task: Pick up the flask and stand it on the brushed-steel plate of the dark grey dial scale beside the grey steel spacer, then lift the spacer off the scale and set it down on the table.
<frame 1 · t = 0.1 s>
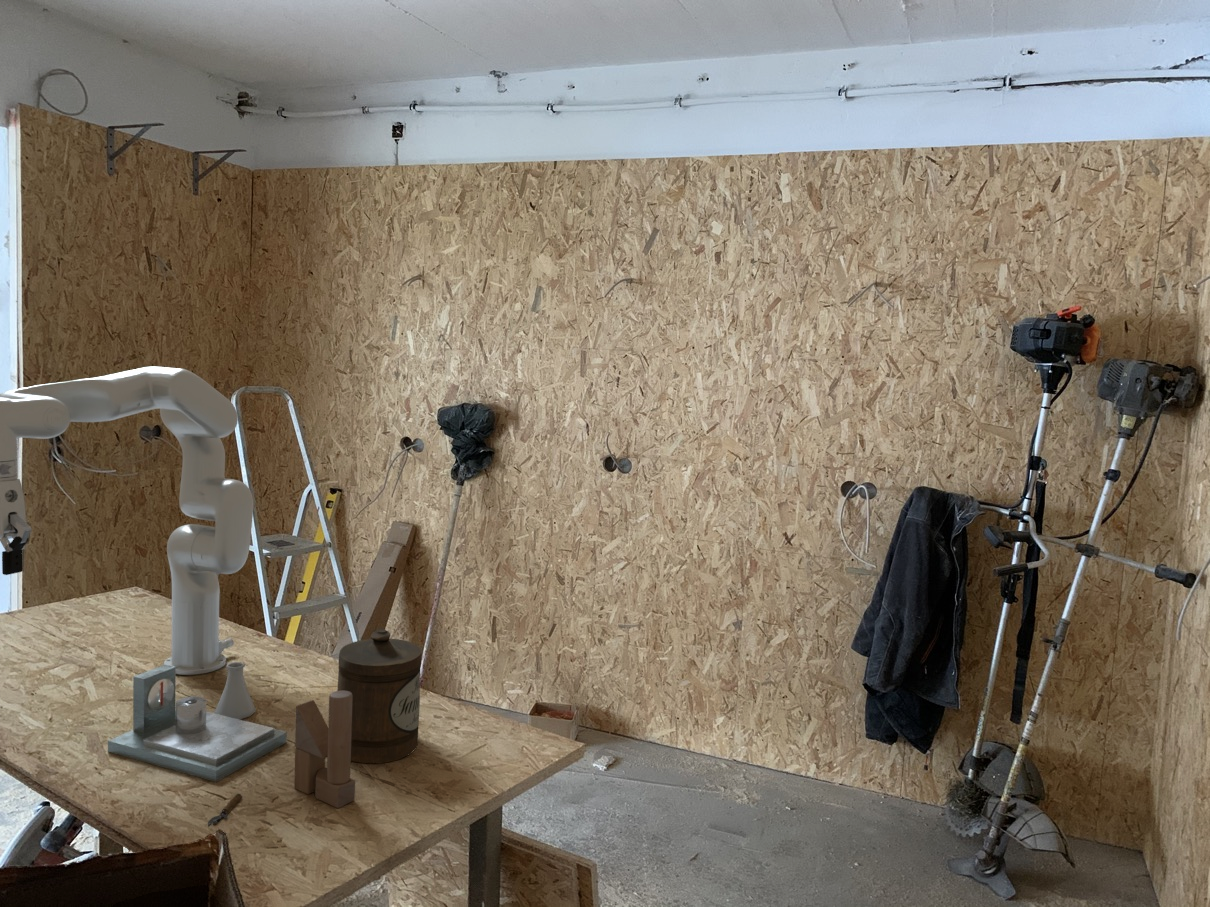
flask: (234, 715, 174), on the table
can opener: (224, 814, 139), on the table
scale: (199, 747, 159), on the table
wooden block: (323, 796, 145), on the table
wooden container: (376, 747, 164), on the table
steel spacer: (190, 728, 160), point 3 cm above the table, touching scale
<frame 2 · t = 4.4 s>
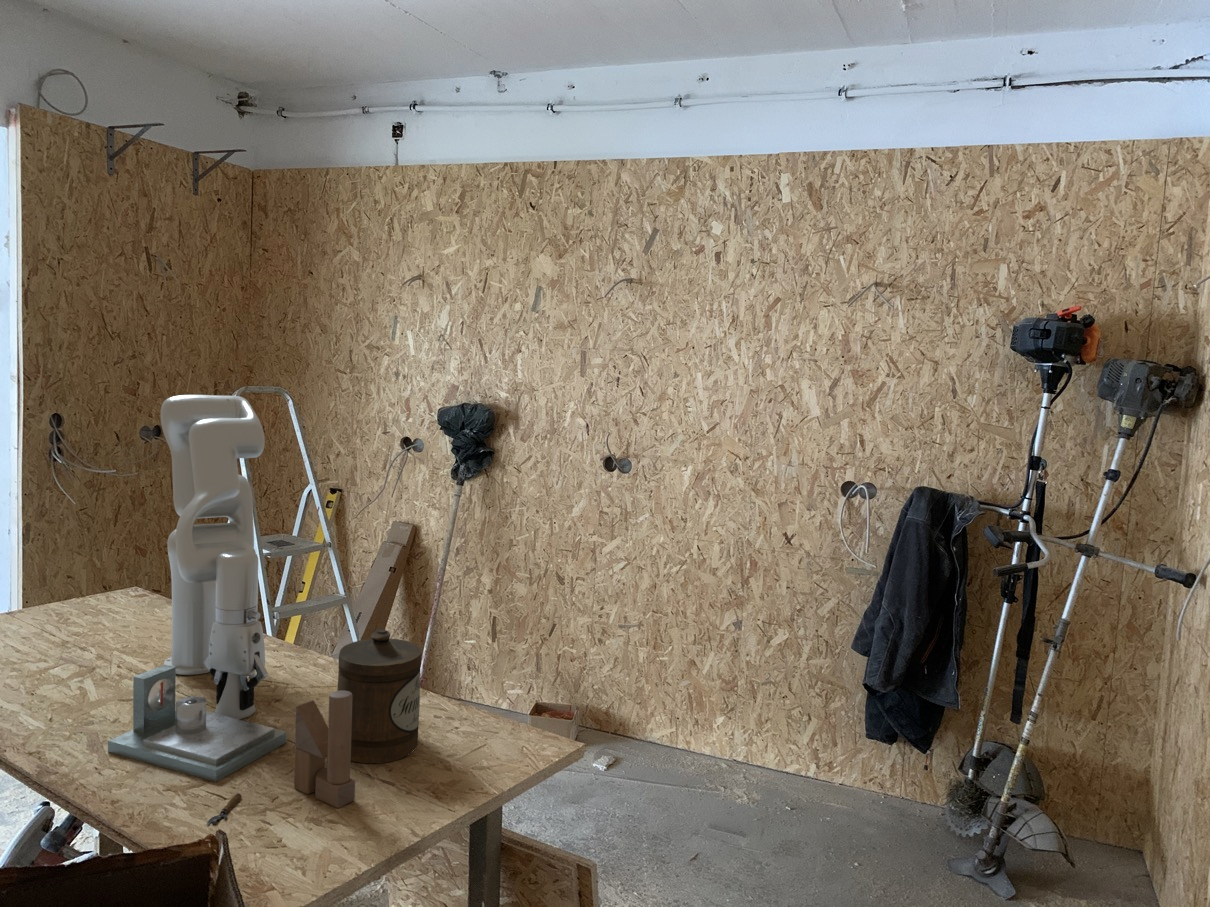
hand: (235, 704, 174), 2 cm above the table, tool pointing down, fingers closed on flask, 4 cm apart
flask: (235, 714, 174), on the table, touching gripper
everything else where it was.
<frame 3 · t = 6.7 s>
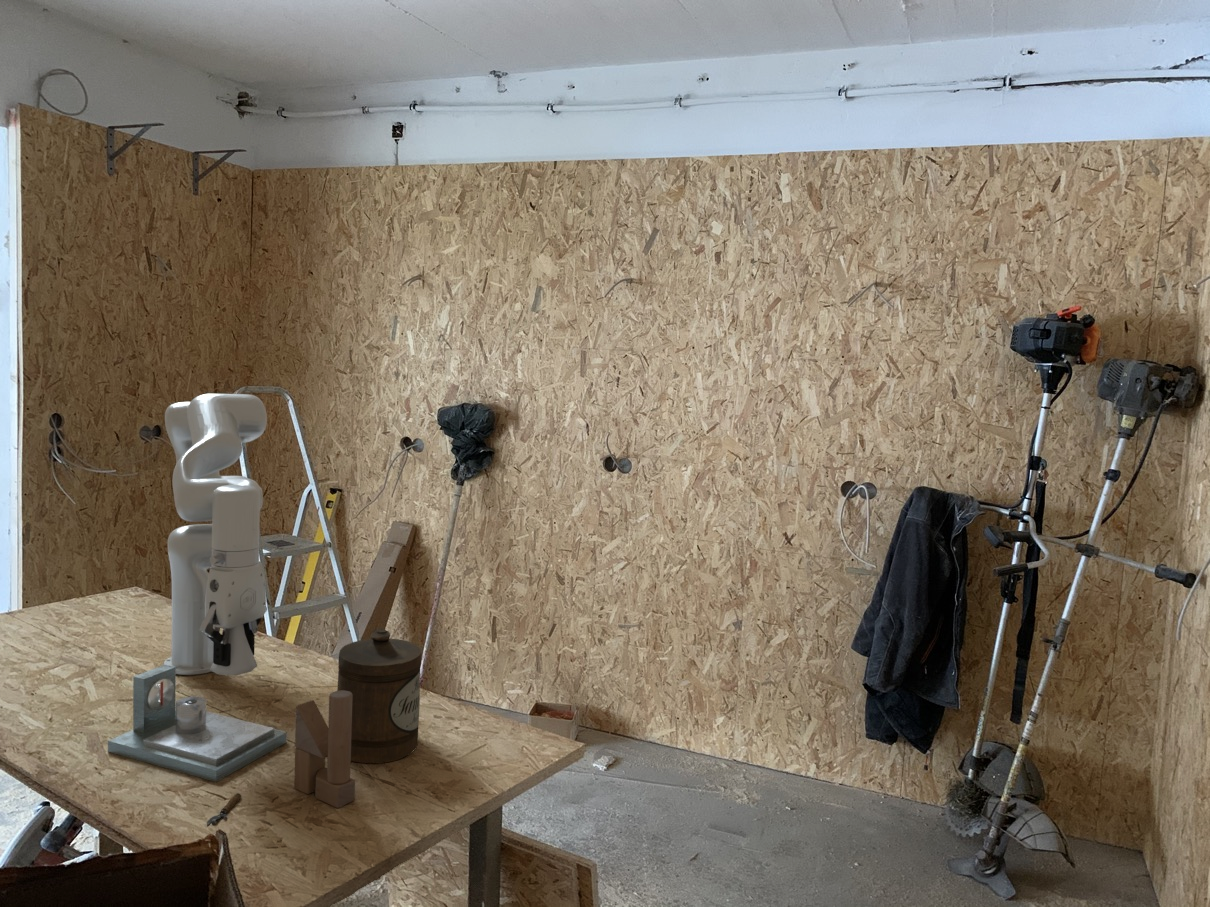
hand: (234, 658, 155), 18 cm above the table, tool pointing down, fingers closed on flask, 4 cm apart
flask: (233, 670, 155), point 15 cm above the table, touching gripper
everything else where it was.
when the fingers open (7 cm above the table, at t = 9.0 s): flask drops 2 cm, resting on scale.
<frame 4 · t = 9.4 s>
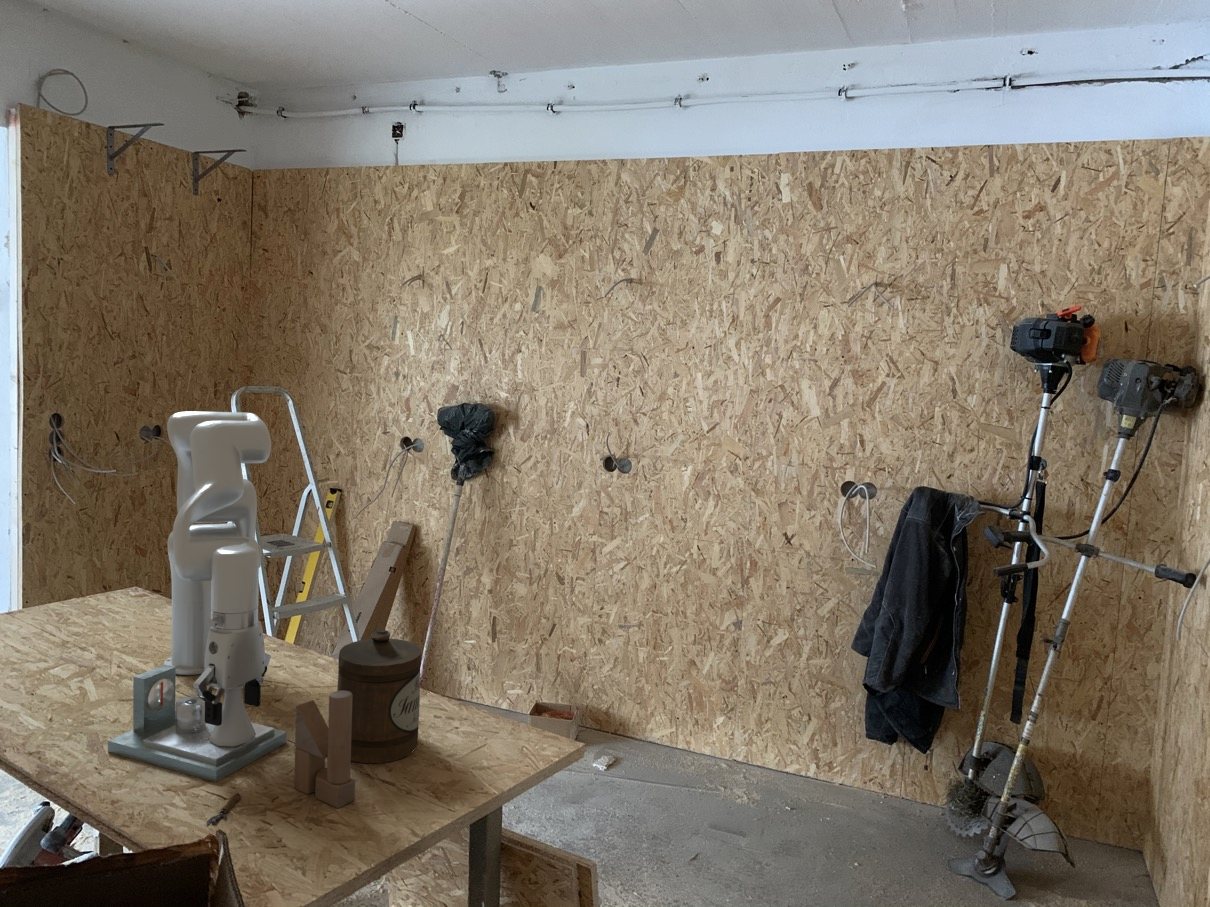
hand: (233, 714, 156), 8 cm above the table, tool pointing down, fingers open, 8 cm apart
flask: (232, 740, 157), point 3 cm above the table, touching scale
everything else where it was.
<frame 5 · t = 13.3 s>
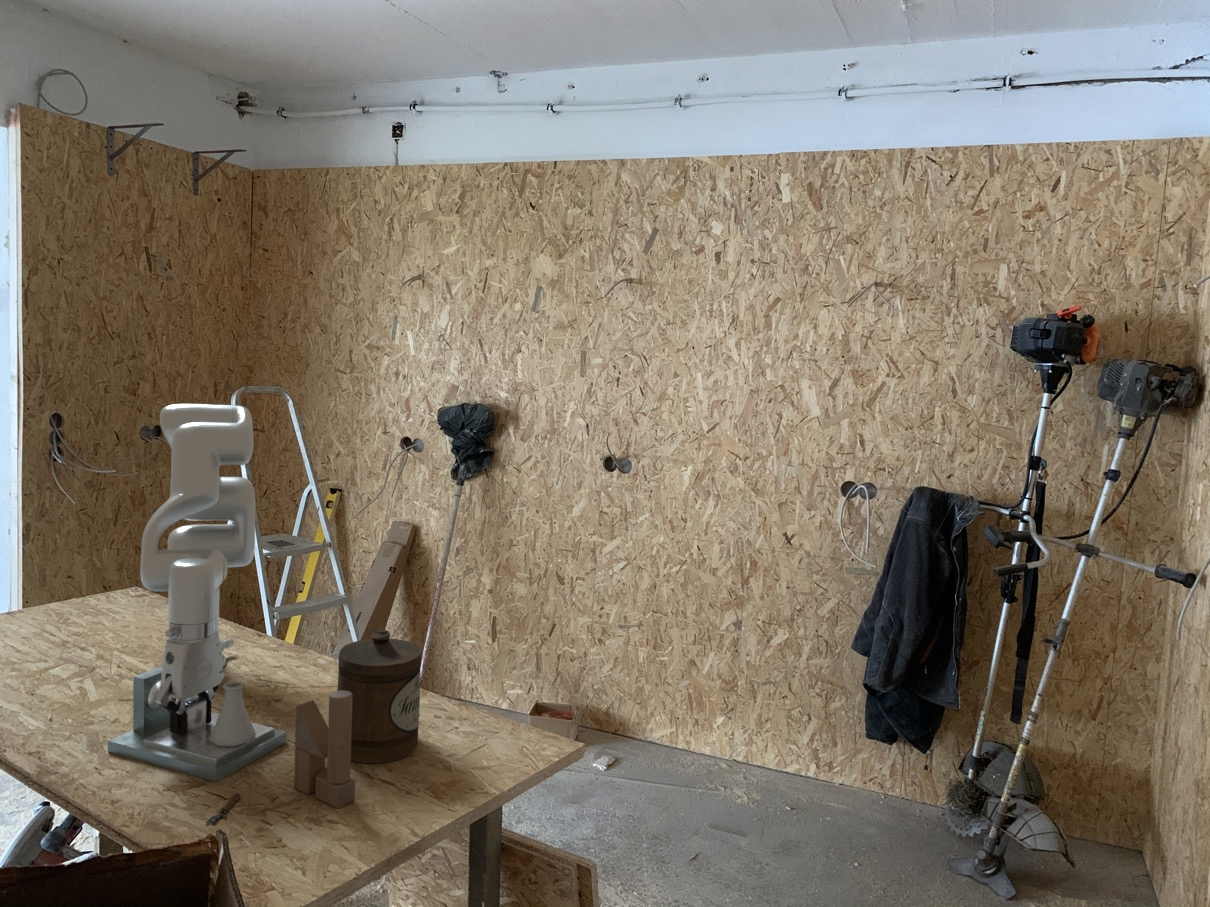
hand: (190, 726, 160), 3 cm above the table, tool pointing down, fingers closed on steel spacer, 5 cm apart
steel spacer: (190, 728, 160), point 3 cm above the table, touching gripper, scale
everything else where it was.
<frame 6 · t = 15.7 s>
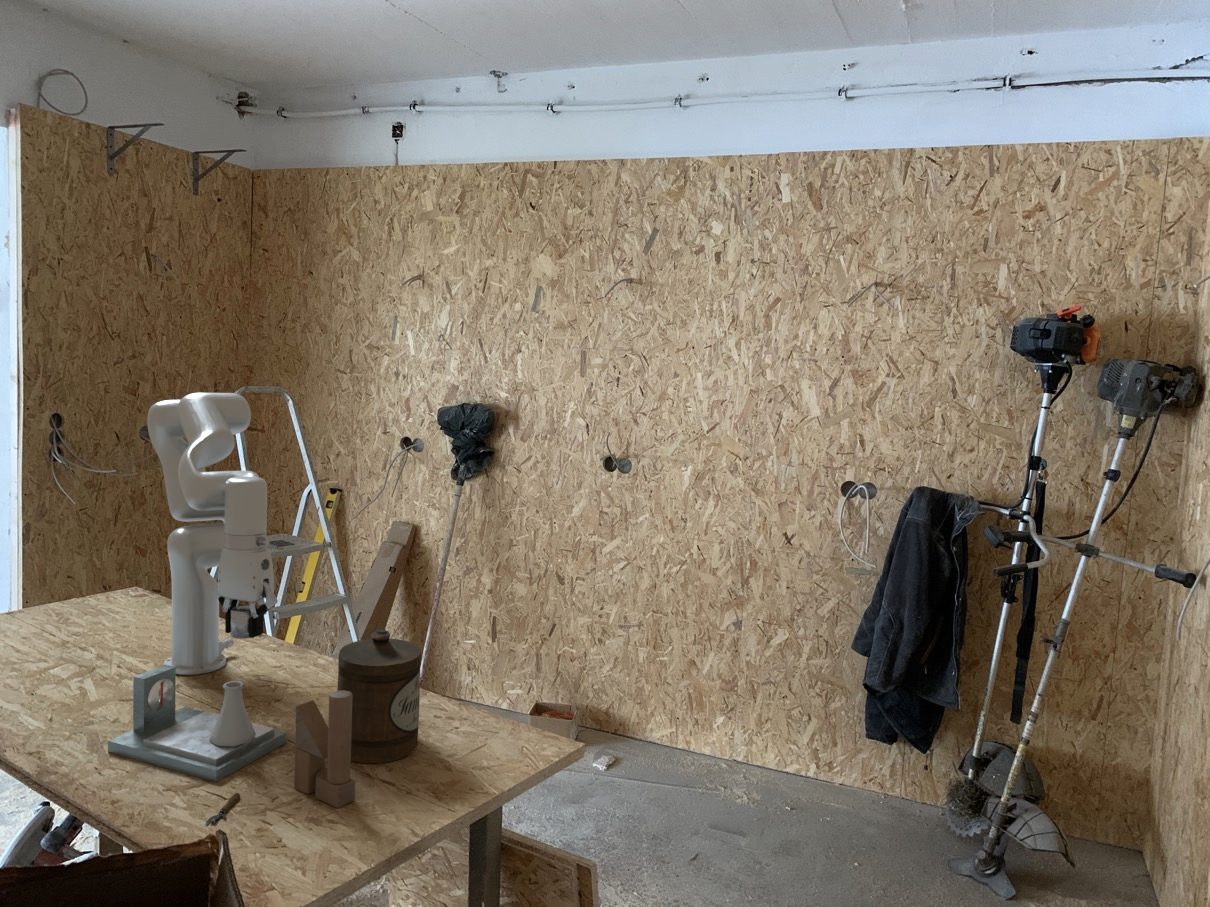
hand: (244, 632, 173), 16 cm above the table, tool pointing down, fingers closed on steel spacer, 5 cm apart
steel spacer: (244, 634, 173), point 16 cm above the table, touching gripper
everything else where it was.
when the fingers open (2 cm above the table, at t = 18.5 s): steel spacer drops 2 cm, on the table.
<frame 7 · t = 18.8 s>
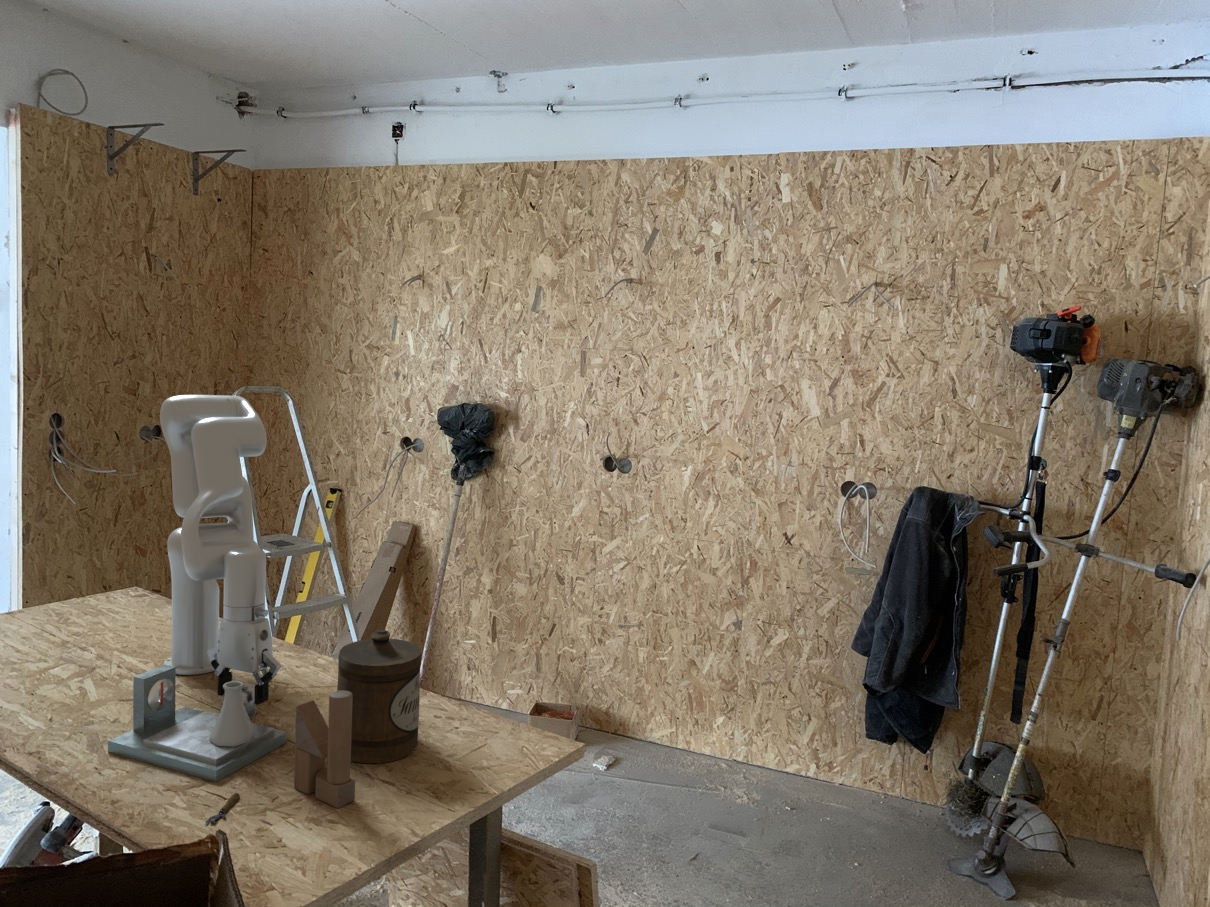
hand: (242, 697, 174), 3 cm above the table, tool pointing down, fingers open, 8 cm apart
steel spacer: (242, 713, 175), on the table
everything else where it was.
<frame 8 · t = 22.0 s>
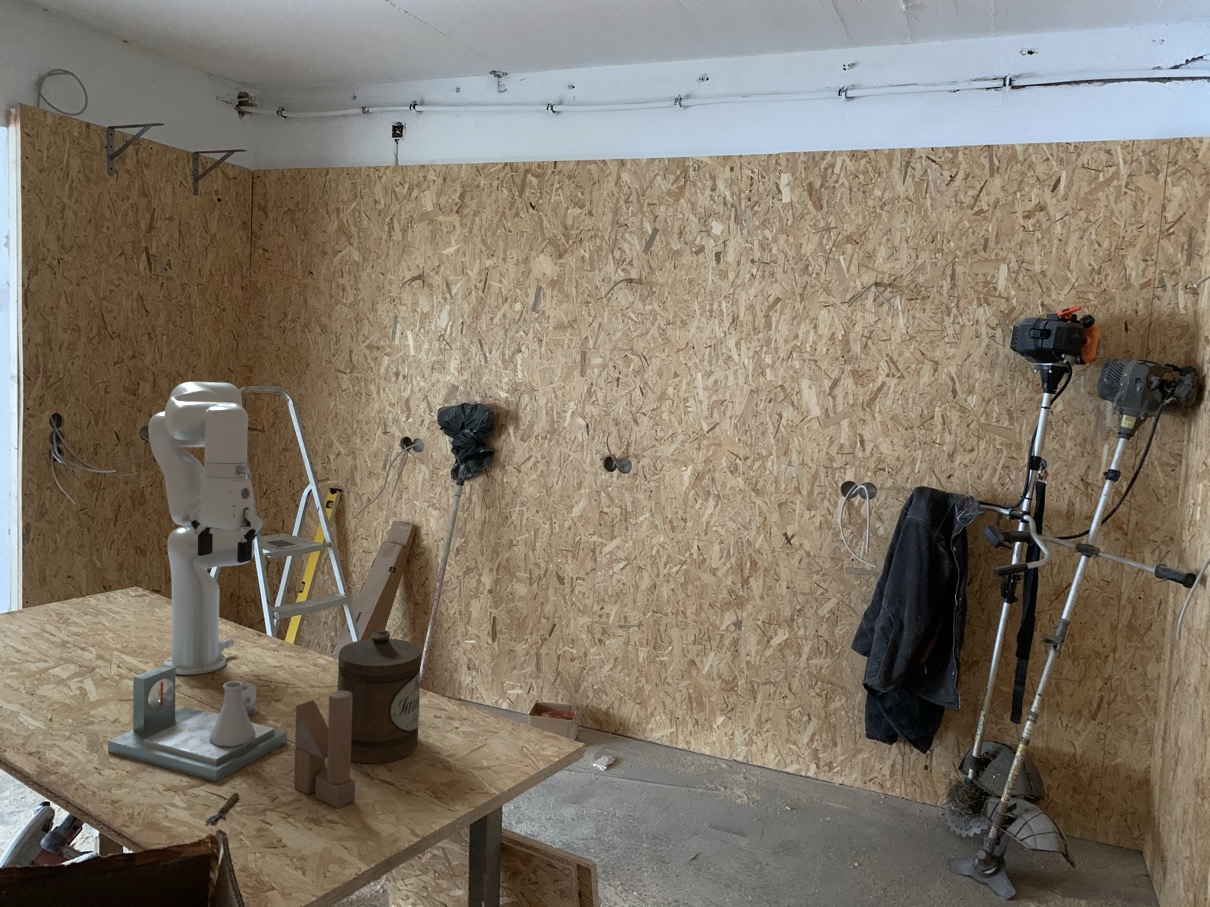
hand: (224, 558, 173), 30 cm above the table, tool pointing down, fingers open, 9 cm apart
nothing on the table moved.
at the end: flask inside the target area on the scale (4.3 cm from its centre), point 2.8 cm above the scale's base; flask tilted 0°; steel spacer on the table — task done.
